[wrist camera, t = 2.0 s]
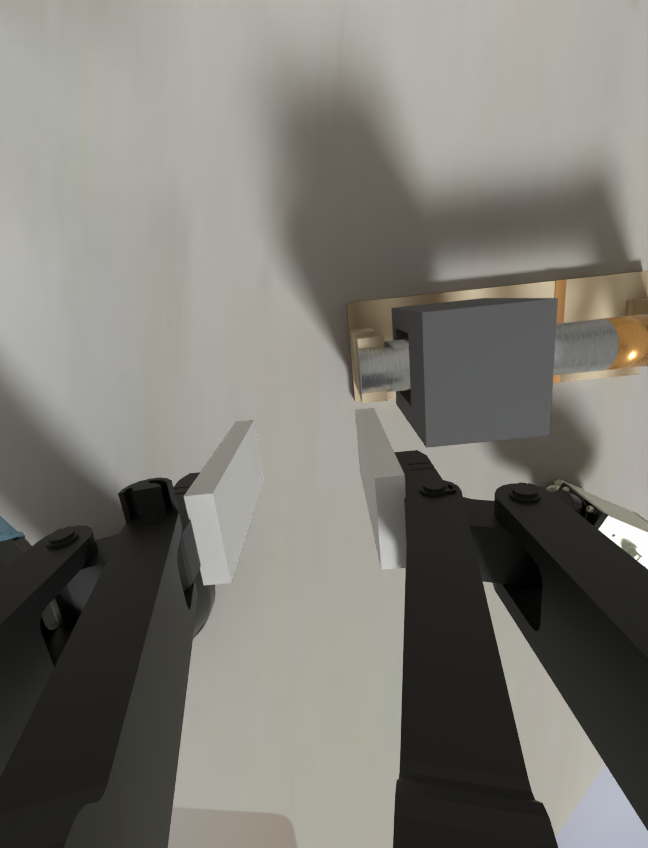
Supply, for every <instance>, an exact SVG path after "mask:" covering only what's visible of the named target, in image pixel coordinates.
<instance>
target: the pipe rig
mask: <svg viewBox="0 0 648 848" xmlns="http://www.w3.org/2000/svg"><path fill="white" fill-rule="evenodd" d="M479 298H558V306H557V322H556V323H565V322H575V321H584V320H594V319H603V318H613V317H622V316H632V315H642V314H648V271H640V272H631V273H621V274H612V275H603V276H593V277H584V278H575V279H565V280H556V281H547V282H537V283H528V284H519V285H509V286H500V287H491V288H482V289H472V290H463V291H454V292H444V293H435V294H426V295H416V296H407V297H398V298H388V299H379V300H370V301H360V302H351V303H347V314H348V326H349V338H350V350H351V362H352V374H353V386H354V398H355V403H357V402H362V403H369V402H379V401H388V399H396V391H394V392H387V391H383V392H373V393H364V394H361V393H362V392H361V393H360V391H361V390H360V388H359V387H361V385H360V384H361V380H360V371H359V369H360V368H359V361H358V350H357V348H358V349H367V348H376V347H385V345H384V341H393V330H392V311H391V308H395V307H404V306H414V305H423V304H433V303H442V302H451V301H461V300H470V299H479ZM356 345H357V346H358V347H357V346H356ZM356 358H357V359H356ZM638 373H639V367H631V368H621V369H611V370H602V371H592V372H582V373H572V374H562V375H553V383H558V382H566V381H576V380H586V379H596V378H606V377H616V376H626V375H636V374H638Z"/></svg>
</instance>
